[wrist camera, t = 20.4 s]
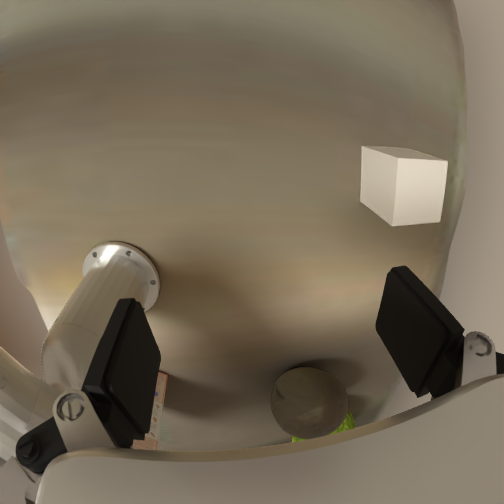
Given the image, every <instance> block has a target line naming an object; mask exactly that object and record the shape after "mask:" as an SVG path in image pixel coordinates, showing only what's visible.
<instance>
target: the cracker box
mask: <svg viewBox="0 0 504 504" xmlns="http://www.w3.org/2000/svg"><path fill="white" fill-rule="evenodd" d="M167 379H168V375H167V374H164V373H161V372H159V373H158V378H157V384H156V391H155V397H154V404H153V410H152V417H151V425H150V431H149V433H145V440H144V441H143V440H133V445H132V447H133V449H142V450H157V449H158V441H159V433H160V425H161V418H162V411H163V404H164V398H165V391H166V385H167Z"/></svg>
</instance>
